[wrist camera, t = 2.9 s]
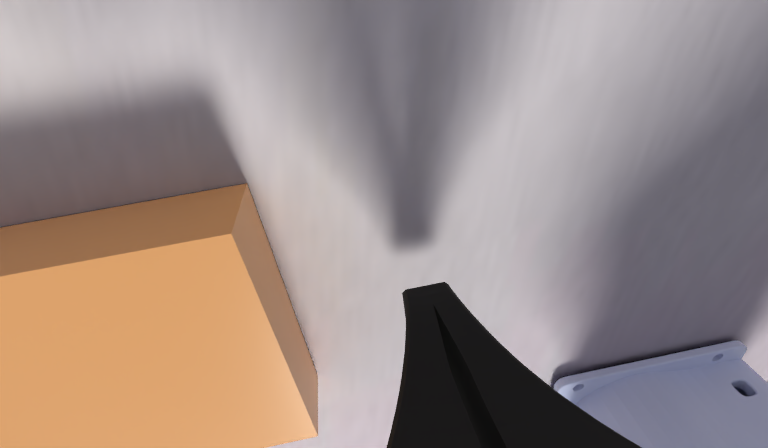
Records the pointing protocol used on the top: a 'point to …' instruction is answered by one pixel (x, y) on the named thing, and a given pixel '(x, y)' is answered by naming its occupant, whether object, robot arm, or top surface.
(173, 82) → the top surface
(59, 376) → the thin wooden plank
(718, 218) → the top surface
